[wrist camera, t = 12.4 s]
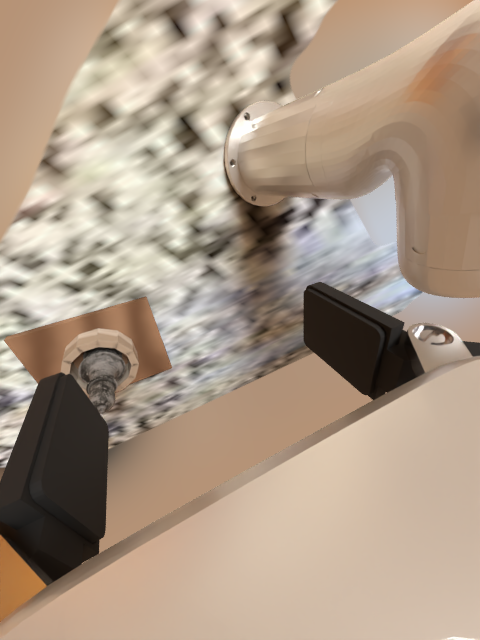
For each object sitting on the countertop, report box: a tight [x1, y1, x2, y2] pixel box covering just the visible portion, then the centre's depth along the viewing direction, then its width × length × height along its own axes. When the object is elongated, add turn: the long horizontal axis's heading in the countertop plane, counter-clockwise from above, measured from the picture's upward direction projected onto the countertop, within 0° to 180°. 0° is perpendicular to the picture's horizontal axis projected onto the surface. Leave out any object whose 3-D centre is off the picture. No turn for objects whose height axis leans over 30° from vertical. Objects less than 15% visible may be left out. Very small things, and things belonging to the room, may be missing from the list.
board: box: [4, 297, 172, 398], centre depth 37 cm, size 18×14×4 cm
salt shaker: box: [78, 347, 126, 414], centre depth 33 cm, size 6×6×12 cm
